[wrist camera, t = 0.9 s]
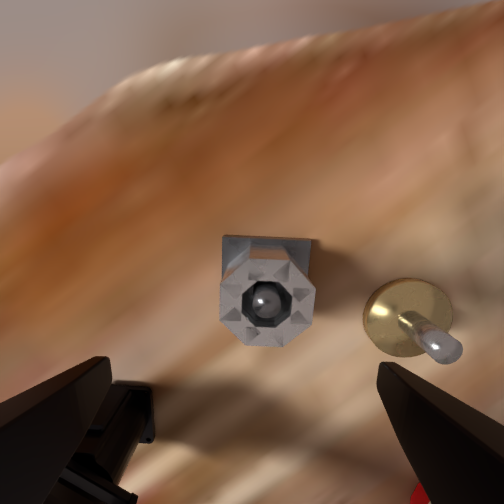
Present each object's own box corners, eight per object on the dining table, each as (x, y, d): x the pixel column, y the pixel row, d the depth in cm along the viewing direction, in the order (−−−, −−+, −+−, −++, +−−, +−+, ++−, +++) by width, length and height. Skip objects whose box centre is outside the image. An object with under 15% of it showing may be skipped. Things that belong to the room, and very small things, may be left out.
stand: (300, 315, 21) (316, 356, 16) (222, 311, 21) (211, 351, 16) (308, 238, 19) (328, 254, 14) (224, 234, 19) (211, 249, 14)
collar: (297, 315, 20) (309, 348, 16) (227, 312, 20) (219, 344, 16) (304, 246, 18) (318, 261, 14) (228, 243, 19) (220, 257, 14)
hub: (433, 351, 22) (485, 397, 17) (357, 348, 22) (386, 392, 17) (451, 280, 20) (515, 306, 15) (369, 276, 20) (405, 301, 15)
